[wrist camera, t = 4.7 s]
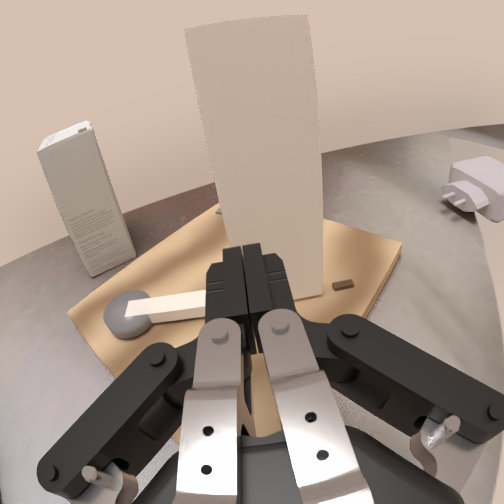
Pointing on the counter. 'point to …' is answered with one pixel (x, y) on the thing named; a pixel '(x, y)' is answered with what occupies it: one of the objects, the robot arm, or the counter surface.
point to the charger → (477, 187)
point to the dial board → (194, 279)
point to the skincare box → (86, 198)
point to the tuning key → (252, 156)
